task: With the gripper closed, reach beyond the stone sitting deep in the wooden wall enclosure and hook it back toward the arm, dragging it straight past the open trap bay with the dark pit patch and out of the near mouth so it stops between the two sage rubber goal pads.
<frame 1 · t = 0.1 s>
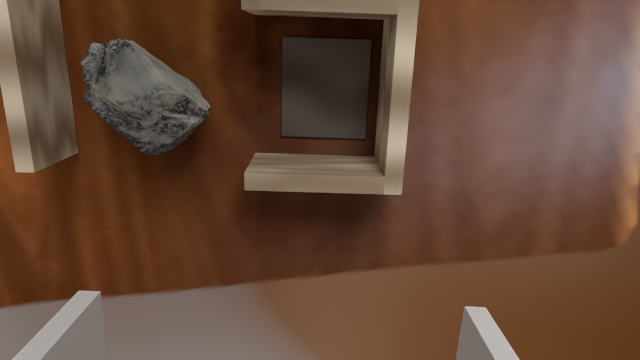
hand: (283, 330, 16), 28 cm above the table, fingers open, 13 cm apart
stone: (164, 91, 41), on the table
wooden wall enclosure: (160, 58, 40), on the table
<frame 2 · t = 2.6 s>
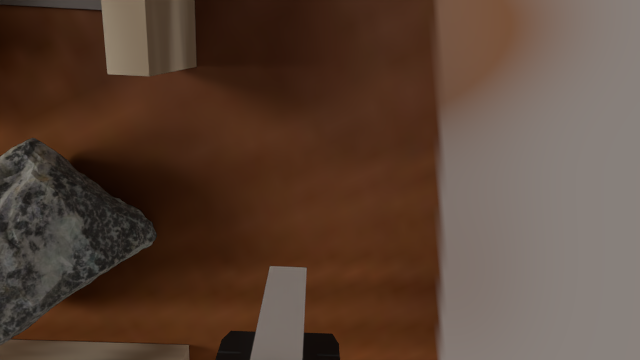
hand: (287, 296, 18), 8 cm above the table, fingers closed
stone: (79, 212, 25), on the table
wooden wall enclosure: (22, 212, 25), on the table
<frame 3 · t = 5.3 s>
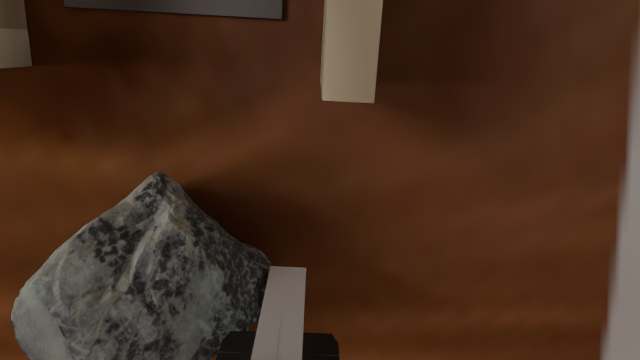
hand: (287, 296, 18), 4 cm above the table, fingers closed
stone: (179, 249, 22), on the table, touching gripper
wooden wall enclosure: (138, 248, 22), on the table
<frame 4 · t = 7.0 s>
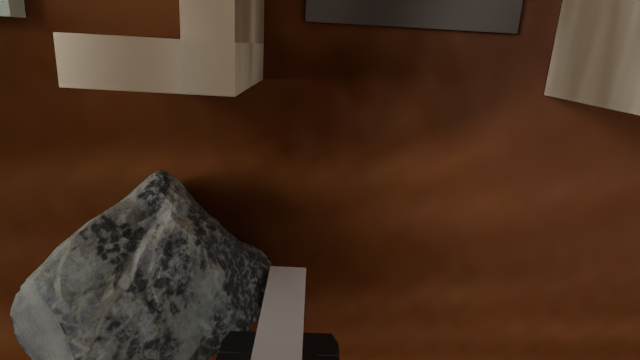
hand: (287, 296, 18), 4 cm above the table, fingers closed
stone: (179, 247, 22), on the table, touching gripper
wooden wall enclosure: (340, 258, 22), on the table
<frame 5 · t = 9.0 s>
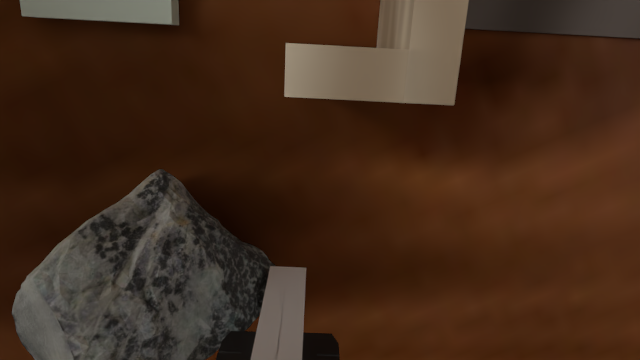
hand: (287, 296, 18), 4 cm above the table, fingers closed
stone: (181, 247, 22), on the table, touching gripper
wooden wall enclosure: (467, 261, 22), on the table
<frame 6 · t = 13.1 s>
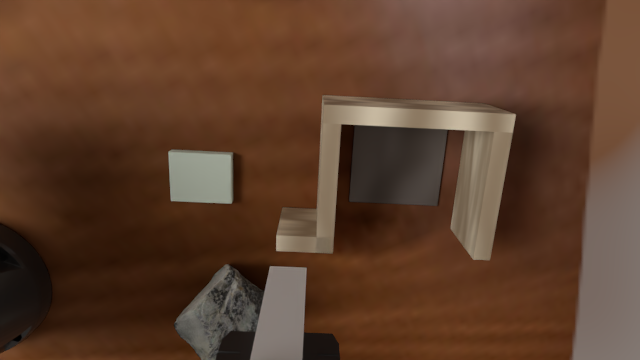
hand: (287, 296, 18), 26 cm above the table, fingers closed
stone: (230, 290, 48), on the table
wooden wall enclosure: (362, 296, 48), on the table
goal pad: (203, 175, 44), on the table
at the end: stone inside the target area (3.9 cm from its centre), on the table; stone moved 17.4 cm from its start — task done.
